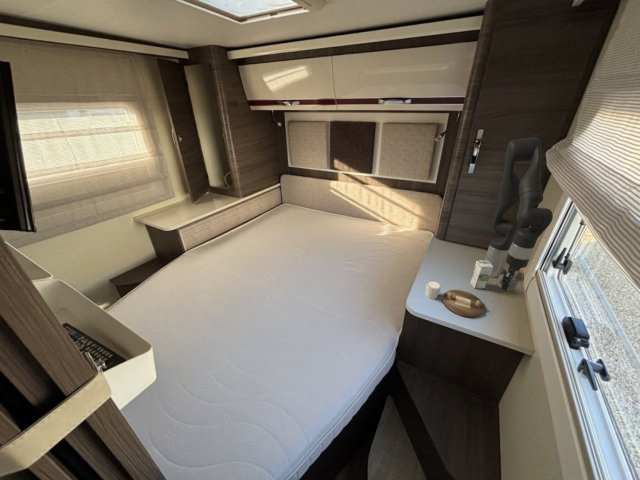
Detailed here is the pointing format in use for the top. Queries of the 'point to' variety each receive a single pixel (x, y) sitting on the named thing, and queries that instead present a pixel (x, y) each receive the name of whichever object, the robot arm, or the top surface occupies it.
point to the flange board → (463, 303)
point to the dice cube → (511, 285)
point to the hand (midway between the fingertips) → (506, 286)
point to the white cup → (432, 289)
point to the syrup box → (481, 274)
